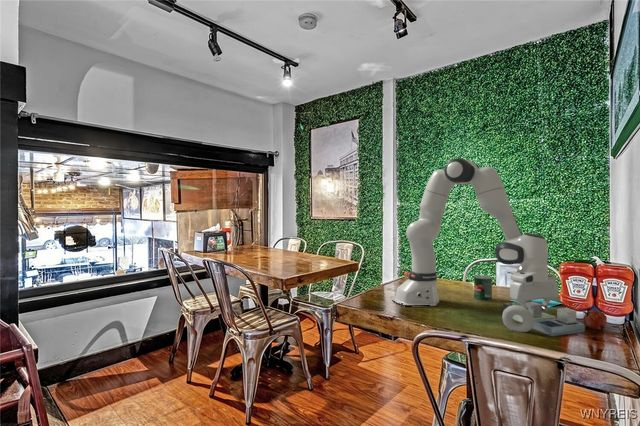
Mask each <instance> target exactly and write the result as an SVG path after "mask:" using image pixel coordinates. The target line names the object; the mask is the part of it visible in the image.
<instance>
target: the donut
mask: <svg viewBox="0 0 640 426" xmlns="http://www.w3.org/2000/svg"><path fill="white" fill-rule="evenodd" d="M502 311H503V310H502ZM514 315H520V316H521V317H522V318H523V322H519V323H518V322H515V320H514V319H512V318H513V316H514ZM501 317H502V323H503V324H504V326H505V327H506V328H507V329H508V330H510V331H511V332H518V333H528V332H529V331H531V330H532V329H533V324H534V319H533V316H532V314H531V313H530V312H529V311H528V310H527V309H526V308H524V307H522V306H519V305H512V306H509V307H507V308H506V309H505V310H504V311H503V312H502V316H501Z"/></svg>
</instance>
